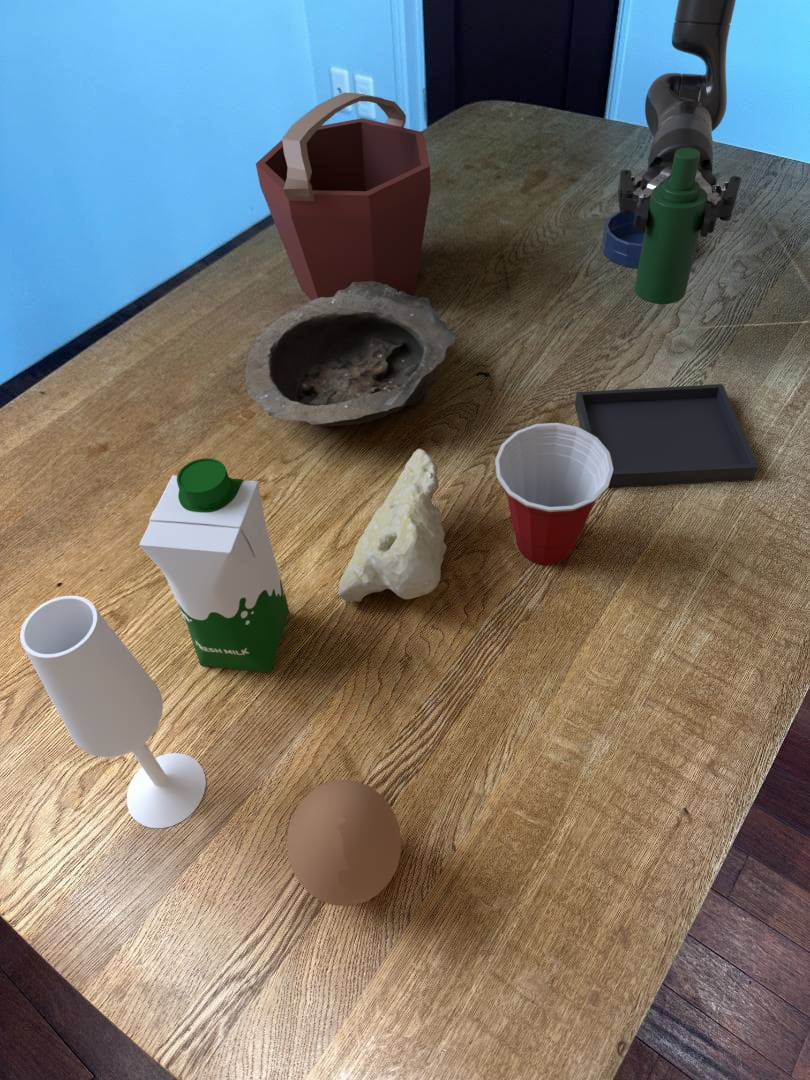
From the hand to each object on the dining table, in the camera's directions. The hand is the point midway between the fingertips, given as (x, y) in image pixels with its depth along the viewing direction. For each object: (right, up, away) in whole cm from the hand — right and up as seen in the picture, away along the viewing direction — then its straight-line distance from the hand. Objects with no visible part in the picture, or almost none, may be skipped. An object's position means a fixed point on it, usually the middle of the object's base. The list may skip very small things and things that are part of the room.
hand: (674, 226), depth 90 cm
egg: (-34, -60, -26) cm, 74 cm away
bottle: (+1, -4, +9) cm, 10 cm away
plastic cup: (-15, -35, -6) cm, 39 cm away
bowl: (+5, +8, +30) cm, 31 cm away
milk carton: (-45, -44, -11) cm, 64 cm away
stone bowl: (-37, -17, +12) cm, 42 cm away
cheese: (-30, -36, -5) cm, 48 cm away
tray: (-1, -23, +3) cm, 23 cm away
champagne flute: (-50, -56, -21) cm, 78 cm away
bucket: (-37, +3, +29) cm, 47 cm away
